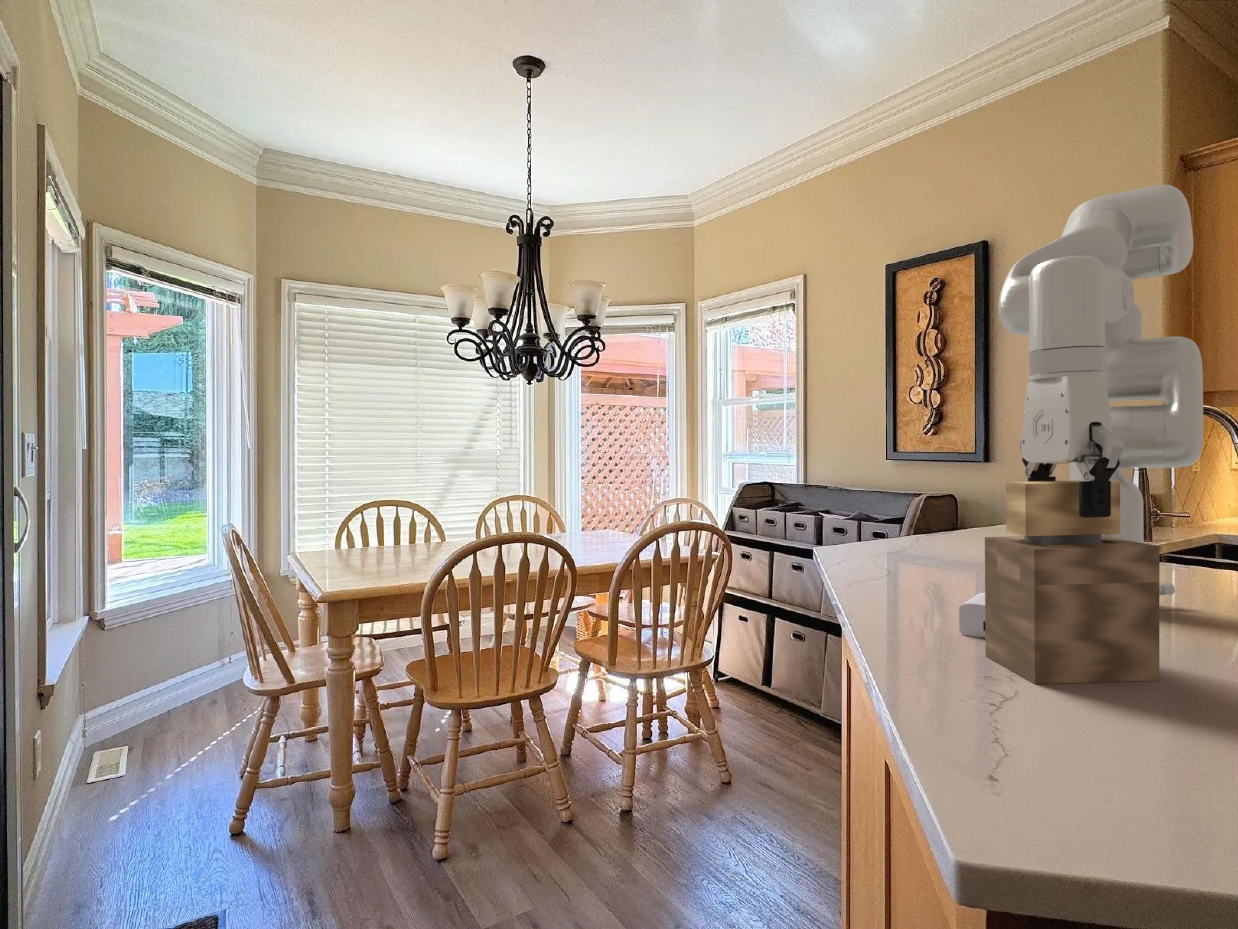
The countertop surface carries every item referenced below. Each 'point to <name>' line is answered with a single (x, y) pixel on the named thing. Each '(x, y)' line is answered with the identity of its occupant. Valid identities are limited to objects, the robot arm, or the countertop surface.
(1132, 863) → the countertop surface
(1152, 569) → the wooden crate
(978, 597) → the charger
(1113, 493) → the tan rectangular block
